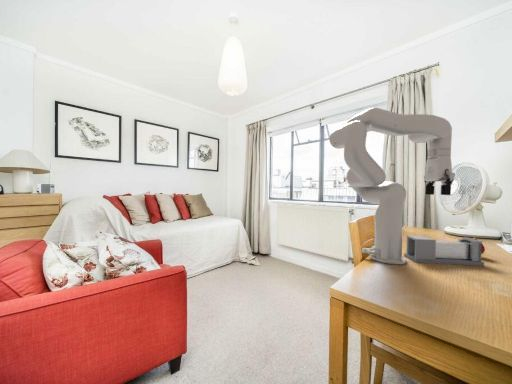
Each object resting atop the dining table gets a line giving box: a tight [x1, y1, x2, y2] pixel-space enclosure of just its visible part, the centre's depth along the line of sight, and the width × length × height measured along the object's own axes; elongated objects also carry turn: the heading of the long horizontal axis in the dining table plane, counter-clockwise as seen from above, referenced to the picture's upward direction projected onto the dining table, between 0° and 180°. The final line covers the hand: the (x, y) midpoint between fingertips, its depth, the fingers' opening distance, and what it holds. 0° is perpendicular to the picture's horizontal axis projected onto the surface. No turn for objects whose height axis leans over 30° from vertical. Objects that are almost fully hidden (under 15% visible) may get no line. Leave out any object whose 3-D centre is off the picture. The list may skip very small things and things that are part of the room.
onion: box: [472, 237, 486, 255], centre depth 92 cm, size 6×6×8 cm
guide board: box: [403, 235, 485, 266], centre depth 86 cm, size 24×8×9 cm, turn 83°
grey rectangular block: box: [435, 240, 470, 259], centre depth 86 cm, size 16×4×6 cm, turn 83°
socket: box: [458, 236, 483, 262], centre depth 85 cm, size 3×7×8 cm, turn 173°
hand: (437, 194), depth 91 cm, fingers open, 9 cm apart
